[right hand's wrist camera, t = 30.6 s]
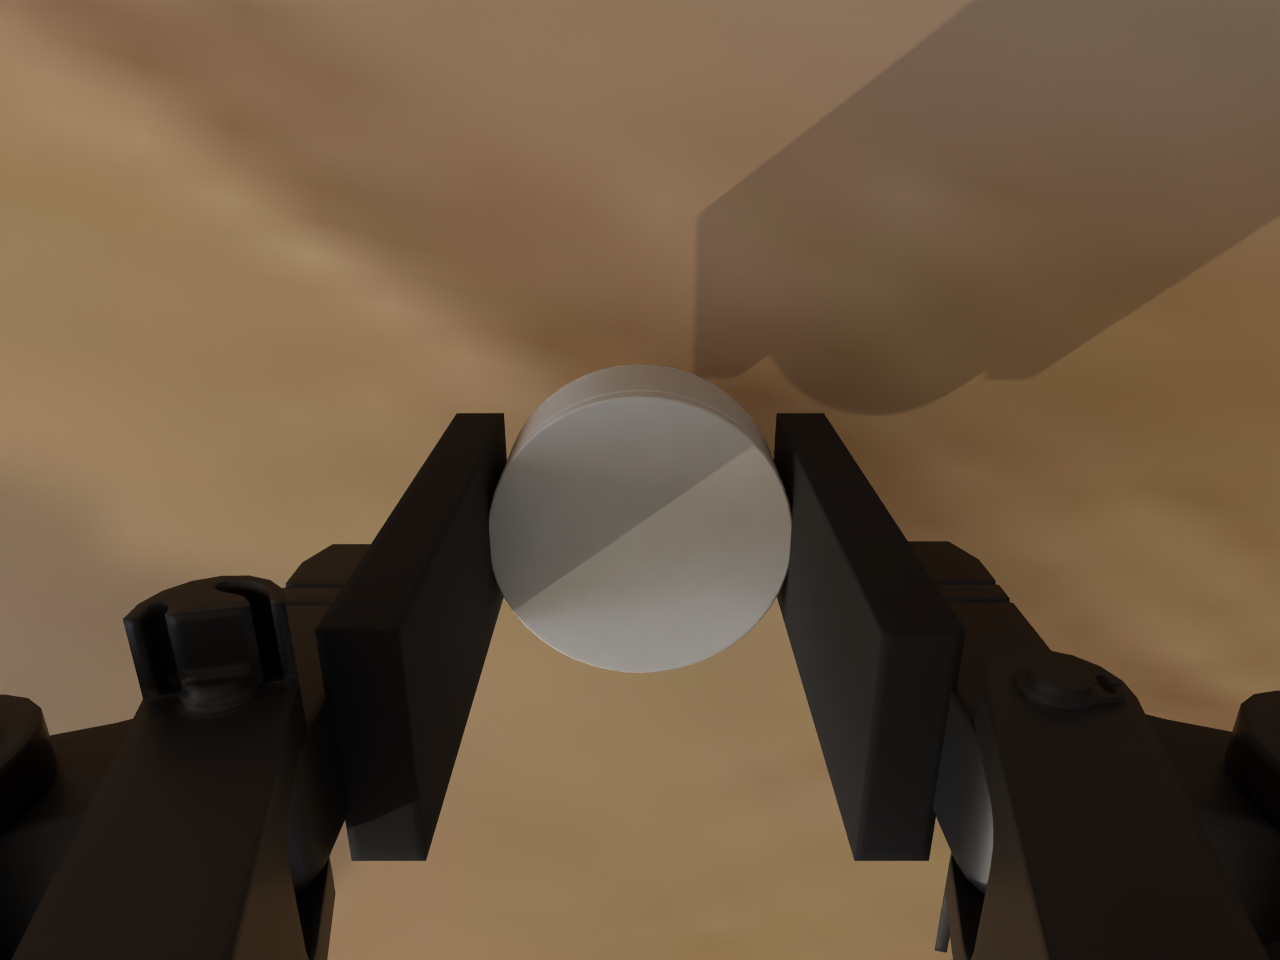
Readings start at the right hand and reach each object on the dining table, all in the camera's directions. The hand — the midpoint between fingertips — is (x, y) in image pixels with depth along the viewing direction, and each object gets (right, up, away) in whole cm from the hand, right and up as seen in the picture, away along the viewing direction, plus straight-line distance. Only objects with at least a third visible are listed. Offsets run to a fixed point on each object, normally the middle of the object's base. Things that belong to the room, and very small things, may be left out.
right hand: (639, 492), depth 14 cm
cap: (0, -1, -1) cm, 2 cm away
